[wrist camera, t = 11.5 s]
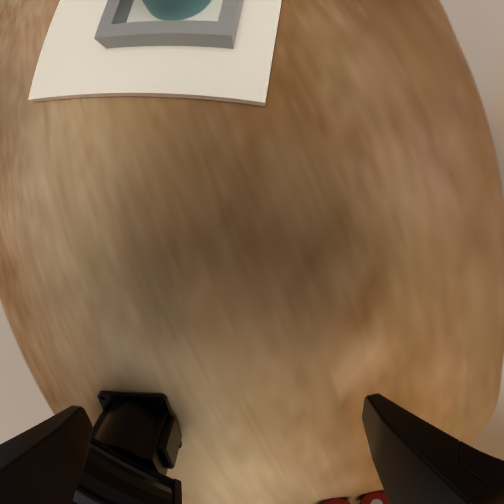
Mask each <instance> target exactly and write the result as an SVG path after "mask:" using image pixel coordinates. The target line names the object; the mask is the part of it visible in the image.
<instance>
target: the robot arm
mask: <svg viewBox="0 0 504 504" xmlns="http://www.w3.org/2000/svg"><path fill="white" fill-rule="evenodd" d="M104 397H105V398H104ZM98 399H99V401H100V403H101V406H102V408H103V411H102V413H101V414H100V416H99V418H98V419H97V421H96V423H95V425H94V426H93V427H92V423H91V421H90V419H89V417H88V415H87V413H86V411H85V409H84V408H83V407H81V406H70V407H69V408H67V409H65V410H63V411H61V412H60V413H58V414H56V415H54V416H52V417H51V418H49V419H47V420H45V421H43V422H42V423H40V424H38V425H36V426H34V427H33V428H31V429H29V430H27V431H25V432H23V433H21V434H19V435H17V436H16V437H14V438H12V439H10V440H8V441H6V442H4V443H2V444H0V504H182V491H181V481H179V480H177V479H172V478H170V477H168V476H166V474H167V470H168V469H172V468H173V467H174V466H175V462H176V458H177V454H178V450H179V448H181V445H182V441H181V437H182V435H181V432H180V429H179V426H178V423H177V420H176V417H175V416H174V415H172V413H171V409H170V406H169V403H168V400H167V398H166V396H164V395H162V394H140V393H120V392H106V391H101V392H100V393H99V394H98ZM159 399H161V400H163V401H160V400H159ZM362 420H363V424H364V428H365V432H366V436H367V440H368V443H369V447H370V451H371V455H372V459H373V462H374V465H375V467H376V470H377V472H378V475H379V477H380V480H381V483H382V485H383V488H384V490H385V493H386V495H387V498H388V500H389V503H390V504H504V461H503V460H501V459H498V458H495V457H493V456H490V455H488V454H486V453H483V452H481V451H479V450H477V449H475V448H473V447H471V446H469V445H467V444H465V443H463V442H462V441H459V440H458V439H456V438H454V437H452V436H450V435H449V434H447V433H445V432H443V431H442V430H440V429H438V428H436V427H434V426H433V425H431V424H429V423H428V422H426V421H424V420H422V419H421V418H419V417H417V416H415V415H414V414H412V413H410V412H409V411H407V410H405V409H404V408H402V407H400V406H399V405H397V404H395V403H394V402H392V401H390V400H389V399H387V398H385V397H384V396H382V395H380V394H372V395H368V396H366V397H365V400H364V407H363V414H362Z"/></svg>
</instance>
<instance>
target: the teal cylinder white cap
mask: <svg viewBox="0 0 504 504" xmlns="http://www.w3.org/2000/svg"><path fill="white" fill-rule="evenodd" d="M142 1H143V3H144V4H145V6H146V8H147V9H148V11H149V12H150V13H151V14H152V15H153V16H154V17H156V18H158V19H161V20H182V19H186V18H189V17H191V16H194V15H196V14H197V13H199V12H200V11H202V10H203V9H204V8H205V7H206V6H207V5H208V4H209V3H210V2H211V0H142Z"/></svg>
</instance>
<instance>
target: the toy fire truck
mask: <svg viewBox="0 0 504 504" xmlns="http://www.w3.org/2000/svg"><path fill="white" fill-rule="evenodd" d="M323 504H350V503H349V502H348V501H346V500H344V499H340V498H334V499H330V500H327V501H326V502H324V503H323ZM360 504H390V503H389V500H388V498H387V495H386V494H385V493H383V492H372V493H369V494H367V495H366V496H364V497H363V499H362V500H361V502H360Z"/></svg>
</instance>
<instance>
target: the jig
mask: <svg viewBox="0 0 504 504" xmlns="http://www.w3.org/2000/svg"><path fill="white" fill-rule="evenodd" d="M281 1H282V0H211V2H210V3H209V4H208V5H207V6H206V7H205V8H204V9H203V10H202V11H200V12H199V13H197V14H196V15H194V16H191V17H189V18H186V19H182V20H161V19H158V18H156V17H154V16H153V15H152V14H151V13H150V12H149V11H148V9H147V8H146V6H145V4H144V3H143V1H142V0H60V2H59V5H58V7H57V9H56V12H55V14H54V17H53V19H52V22H51V24H50V27H49V30H48V33H47V35H46V38H45V41H44V44H43V47H42V50H41V53H40V57H39V60H38V63H37V67H36V70H35V74H34V78H33V82H32V86H31V90H30V94H29V98H28V100H30V101H34V102H40V101H49V100H59V99H71V98H87V97H116V96H145V97H175V98H191V99H204V100H215V101H225V102H234V103H243V104H250V105H258V106H264V107H265V101H266V95H267V89H268V82H269V76H270V70H271V63H272V57H273V51H274V44H275V38H276V32H277V26H278V20H279V13H280V7H281Z"/></svg>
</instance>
